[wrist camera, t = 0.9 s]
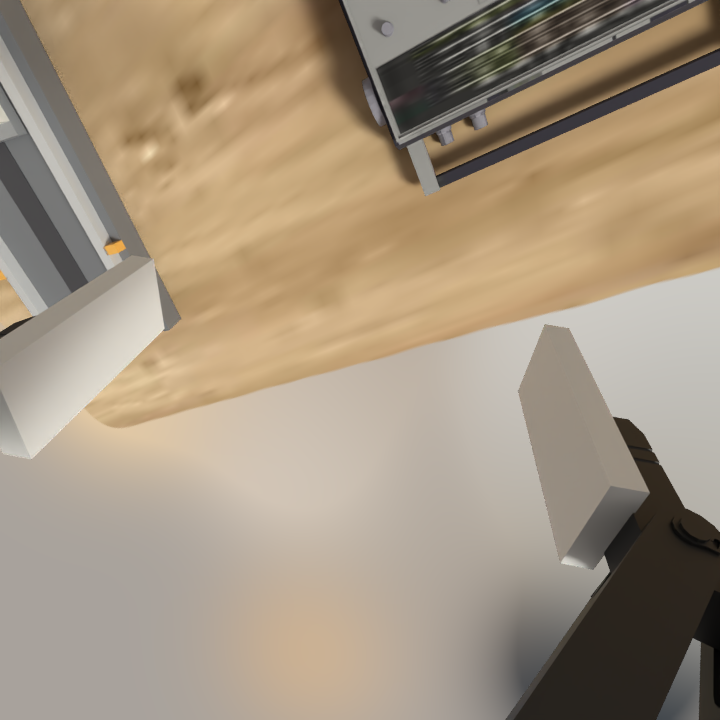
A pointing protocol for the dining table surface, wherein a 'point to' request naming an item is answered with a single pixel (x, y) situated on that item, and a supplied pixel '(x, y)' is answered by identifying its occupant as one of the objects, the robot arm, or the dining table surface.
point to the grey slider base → (54, 184)
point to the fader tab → (9, 120)
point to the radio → (491, 63)
